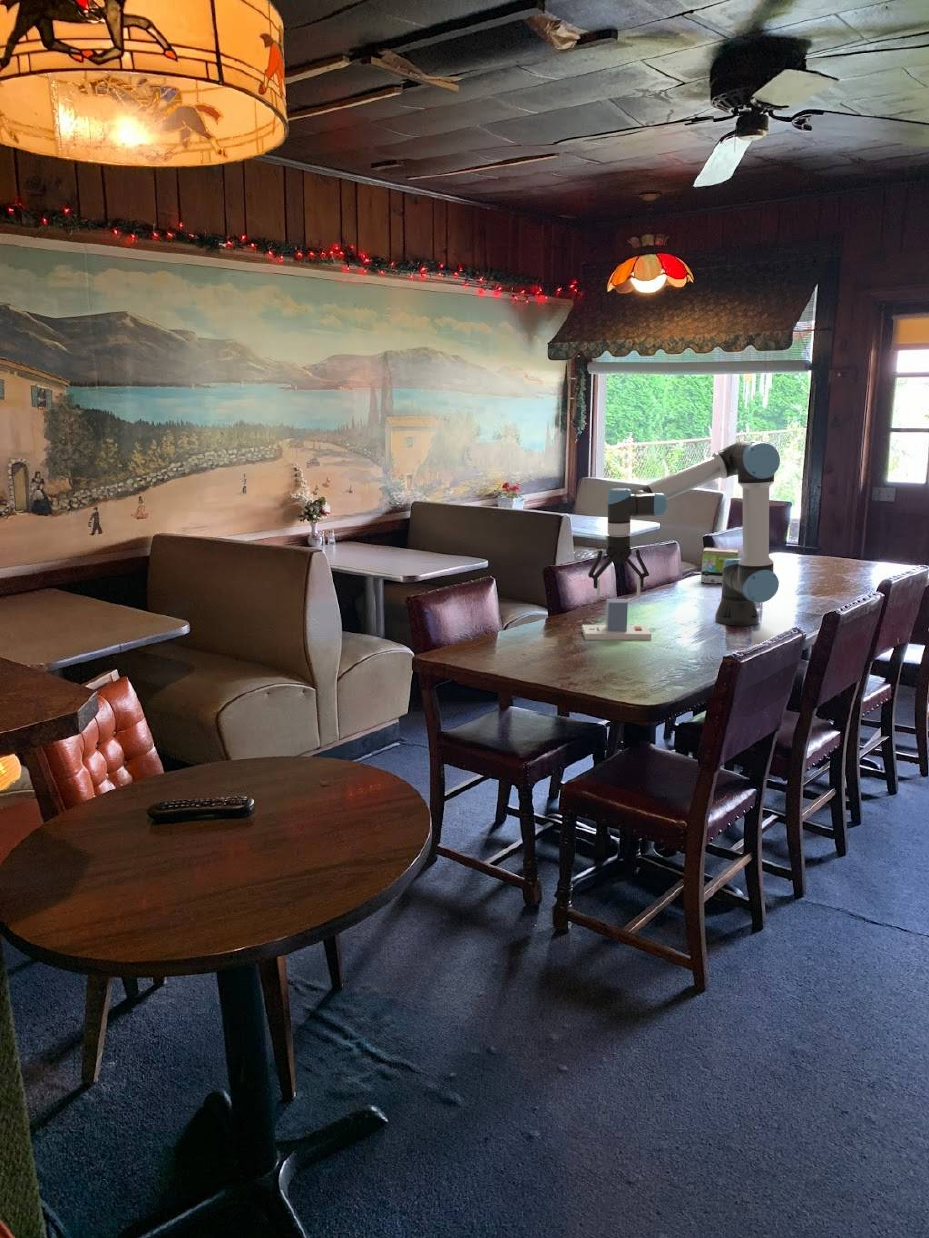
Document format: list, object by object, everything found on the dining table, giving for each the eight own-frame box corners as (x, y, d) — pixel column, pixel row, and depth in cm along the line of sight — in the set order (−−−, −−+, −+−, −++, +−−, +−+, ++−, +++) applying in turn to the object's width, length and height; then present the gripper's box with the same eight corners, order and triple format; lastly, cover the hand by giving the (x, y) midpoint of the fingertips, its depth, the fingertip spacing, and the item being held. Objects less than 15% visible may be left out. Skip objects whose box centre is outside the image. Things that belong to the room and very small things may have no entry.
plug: (624, 632, 322) (625, 598, 319) (626, 637, 316) (627, 602, 313) (605, 632, 322) (606, 598, 320) (607, 637, 316) (608, 602, 314)
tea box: (700, 583, 410) (702, 550, 407) (702, 579, 419) (704, 546, 416) (736, 585, 405) (738, 551, 402) (737, 581, 415) (739, 548, 411)
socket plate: (645, 630, 325) (645, 623, 324) (651, 639, 312) (651, 632, 312) (582, 630, 326) (582, 623, 325) (585, 639, 313) (585, 632, 313)
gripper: (654, 532, 315) (653, 594, 319) (580, 534, 316) (580, 595, 320) (658, 535, 307) (657, 598, 312) (582, 537, 308) (582, 600, 313)
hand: (618, 597), depth 316 cm, fingers open, 13 cm apart
